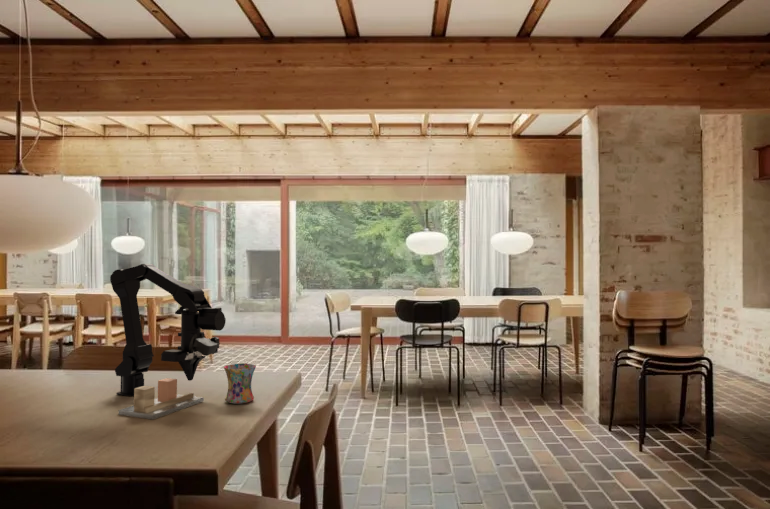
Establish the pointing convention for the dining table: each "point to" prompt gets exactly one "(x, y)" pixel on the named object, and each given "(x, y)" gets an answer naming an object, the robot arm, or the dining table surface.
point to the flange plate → (162, 411)
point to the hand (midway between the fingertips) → (190, 380)
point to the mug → (239, 383)
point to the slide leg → (167, 389)
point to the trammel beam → (146, 399)
